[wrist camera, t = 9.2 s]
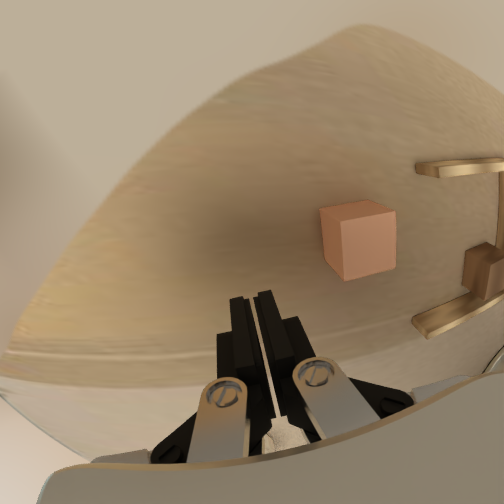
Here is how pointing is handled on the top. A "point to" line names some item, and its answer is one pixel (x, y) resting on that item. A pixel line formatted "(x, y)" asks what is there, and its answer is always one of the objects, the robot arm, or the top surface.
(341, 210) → the terracotta block
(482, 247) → the walnut block
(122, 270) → the top surface
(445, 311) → the tan u-shaped piece
